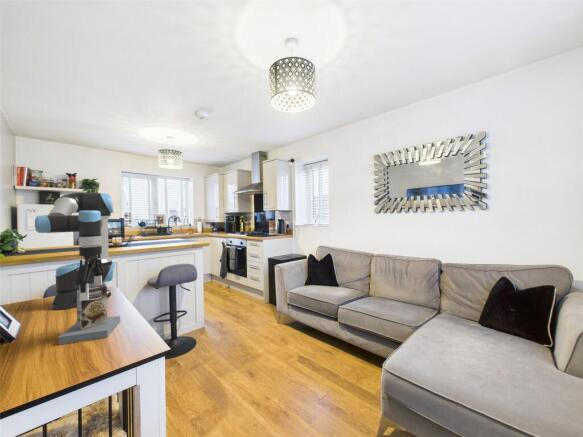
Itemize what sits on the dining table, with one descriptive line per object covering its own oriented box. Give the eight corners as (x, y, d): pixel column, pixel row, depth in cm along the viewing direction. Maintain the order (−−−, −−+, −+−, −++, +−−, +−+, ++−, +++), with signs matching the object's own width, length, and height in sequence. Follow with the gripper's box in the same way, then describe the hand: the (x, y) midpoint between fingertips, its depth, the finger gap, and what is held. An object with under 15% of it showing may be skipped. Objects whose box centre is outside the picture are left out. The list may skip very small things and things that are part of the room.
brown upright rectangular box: (82, 330, 101) (81, 291, 101) (76, 326, 105) (75, 289, 104) (108, 322, 109) (107, 286, 108) (102, 319, 112) (101, 284, 112)
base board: (78, 327, 111) (78, 320, 111) (120, 321, 116) (120, 315, 116) (58, 344, 96) (58, 337, 96) (107, 337, 101) (107, 330, 101)
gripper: (92, 243, 116) (93, 287, 117) (63, 250, 93) (65, 306, 93) (111, 242, 119) (112, 286, 119) (88, 249, 95) (89, 303, 95)
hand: (91, 295), depth 106 cm, fingers open, 13 cm apart
